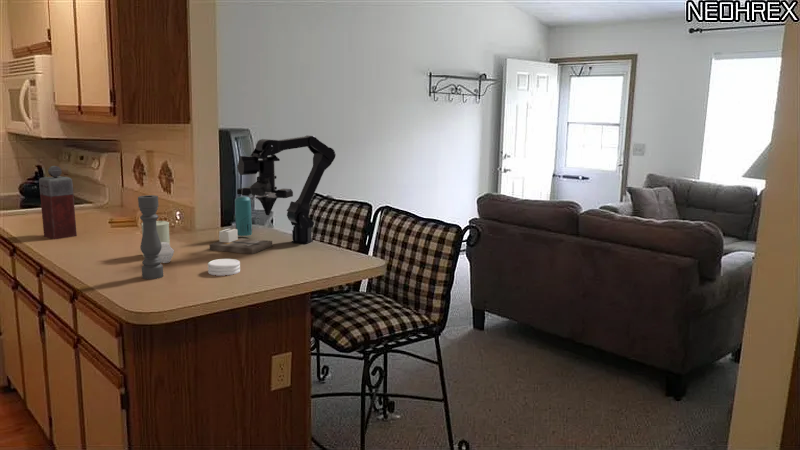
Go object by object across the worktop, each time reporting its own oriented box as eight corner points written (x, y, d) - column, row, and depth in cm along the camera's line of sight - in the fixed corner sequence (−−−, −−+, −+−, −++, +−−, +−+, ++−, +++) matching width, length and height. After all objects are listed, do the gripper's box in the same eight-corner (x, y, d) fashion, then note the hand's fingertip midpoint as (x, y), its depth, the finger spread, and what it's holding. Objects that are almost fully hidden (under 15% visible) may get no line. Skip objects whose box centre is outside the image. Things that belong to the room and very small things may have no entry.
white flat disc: (210, 277, 201) (209, 266, 201) (206, 270, 210) (205, 259, 210) (243, 274, 205) (242, 263, 205) (237, 267, 214) (236, 257, 214)
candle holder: (145, 274, 204) (140, 195, 199) (165, 273, 204) (161, 195, 200) (139, 279, 198) (134, 198, 193) (160, 279, 198) (155, 198, 194)
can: (176, 253, 232) (174, 220, 230) (159, 259, 223) (157, 224, 221) (155, 251, 235) (153, 218, 233) (137, 256, 226) (135, 223, 224)
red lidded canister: (63, 232, 266) (57, 164, 261) (77, 235, 260) (71, 166, 254) (40, 235, 259) (34, 165, 254) (54, 239, 253) (47, 167, 248)
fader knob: (237, 239, 245) (237, 229, 245) (228, 242, 240) (228, 231, 239) (228, 238, 247) (228, 228, 246) (219, 241, 241) (218, 231, 240)
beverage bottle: (248, 240, 256) (246, 189, 252) (232, 239, 257) (230, 189, 253) (255, 236, 262) (253, 187, 258) (239, 236, 263) (238, 187, 260)
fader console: (272, 246, 246) (272, 240, 245) (252, 253, 232) (252, 248, 232) (231, 242, 251) (231, 237, 251) (209, 249, 238) (209, 244, 238)
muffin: (156, 264, 216) (155, 244, 214) (154, 260, 221) (153, 240, 220) (176, 262, 218) (175, 242, 217) (173, 259, 224) (172, 239, 222)
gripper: (232, 174, 235) (234, 216, 238) (278, 176, 229) (279, 220, 232) (249, 171, 246) (250, 212, 249) (293, 173, 240) (294, 215, 243)
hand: (267, 215), depth 243 cm, fingers closed
